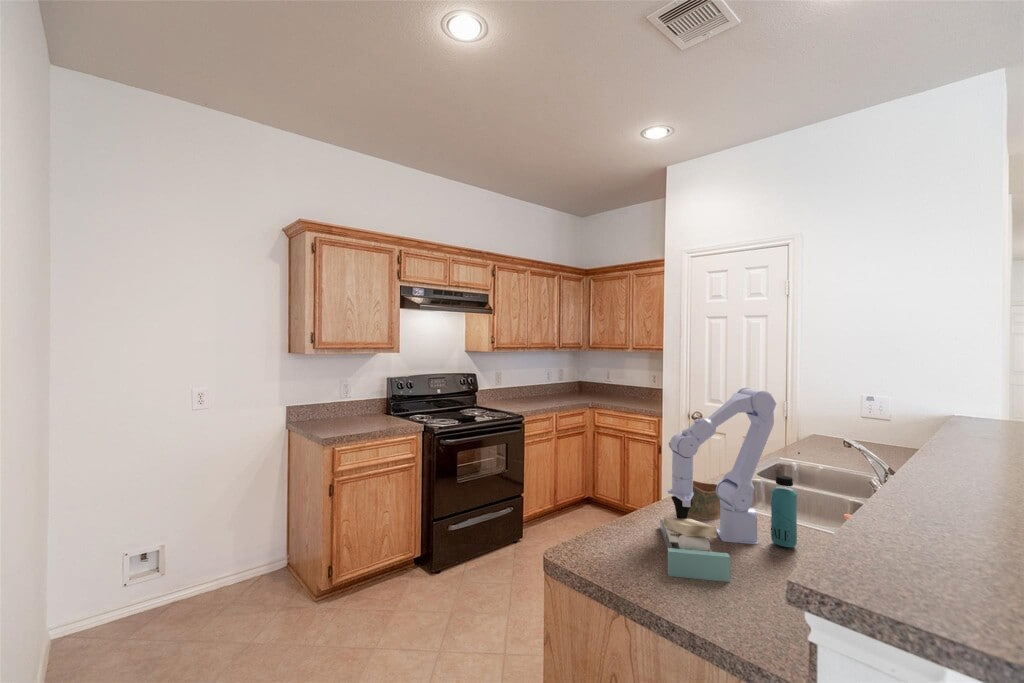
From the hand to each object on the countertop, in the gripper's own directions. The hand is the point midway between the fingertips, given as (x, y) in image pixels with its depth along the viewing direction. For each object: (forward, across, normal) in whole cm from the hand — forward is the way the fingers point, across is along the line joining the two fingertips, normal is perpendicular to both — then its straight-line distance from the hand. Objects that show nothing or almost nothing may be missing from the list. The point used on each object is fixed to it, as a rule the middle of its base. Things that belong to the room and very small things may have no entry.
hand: (681, 522), depth 132 cm
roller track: (+5, +7, 0) cm, 9 cm away
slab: (-1, +9, 0) cm, 9 cm away
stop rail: (+5, +22, 0) cm, 22 cm away
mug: (+5, -22, +14) cm, 27 cm away
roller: (-2, +15, +1) cm, 15 cm away
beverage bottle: (+5, 0, +27) cm, 28 cm away
